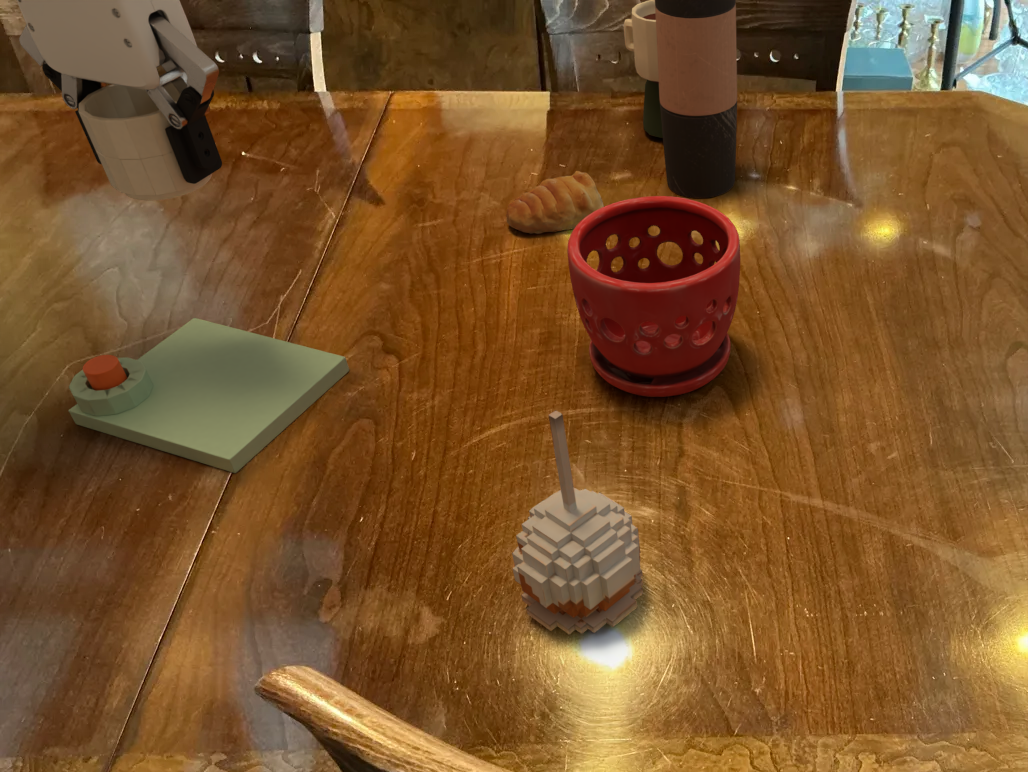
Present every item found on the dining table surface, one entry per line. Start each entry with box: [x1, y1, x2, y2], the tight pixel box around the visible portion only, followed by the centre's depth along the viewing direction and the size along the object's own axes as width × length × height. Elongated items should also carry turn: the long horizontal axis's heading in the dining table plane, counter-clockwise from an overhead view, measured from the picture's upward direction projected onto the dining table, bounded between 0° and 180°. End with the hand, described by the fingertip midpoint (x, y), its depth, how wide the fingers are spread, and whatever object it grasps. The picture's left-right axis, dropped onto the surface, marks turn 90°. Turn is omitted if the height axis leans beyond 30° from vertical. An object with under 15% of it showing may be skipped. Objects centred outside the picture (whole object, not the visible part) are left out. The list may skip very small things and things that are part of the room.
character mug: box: [623, 0, 663, 139], centre depth 116 cm, size 11×7×13 cm, turn 58°
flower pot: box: [566, 195, 741, 398], centre depth 85 cm, size 13×13×12 cm
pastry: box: [505, 170, 605, 235], centre depth 106 cm, size 9×7×4 cm
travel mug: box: [655, 0, 738, 199], centre depth 105 cm, size 8×8×20 cm
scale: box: [68, 317, 350, 474], centre depth 86 cm, size 17×14×3 cm
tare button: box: [82, 354, 127, 391], centre depth 84 cm, size 3×3×2 cm
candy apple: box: [511, 409, 644, 635], centre depth 66 cm, size 8×8×15 cm
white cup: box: [79, 83, 213, 202], centre depth 76 cm, size 7×7×6 cm
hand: (160, 164), depth 77 cm, fingers closed on white cup, 7 cm apart
